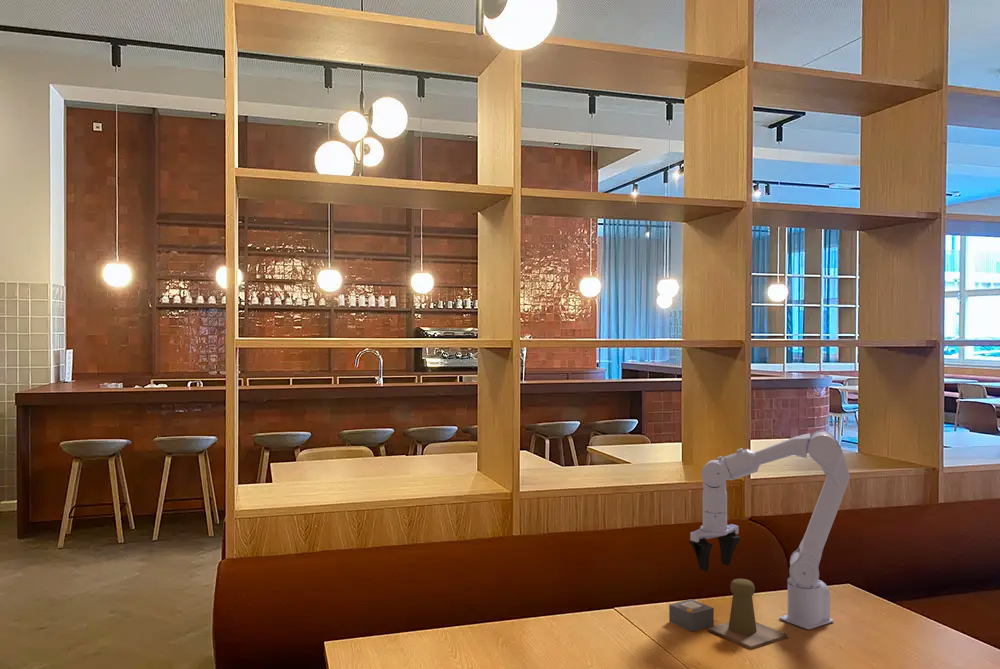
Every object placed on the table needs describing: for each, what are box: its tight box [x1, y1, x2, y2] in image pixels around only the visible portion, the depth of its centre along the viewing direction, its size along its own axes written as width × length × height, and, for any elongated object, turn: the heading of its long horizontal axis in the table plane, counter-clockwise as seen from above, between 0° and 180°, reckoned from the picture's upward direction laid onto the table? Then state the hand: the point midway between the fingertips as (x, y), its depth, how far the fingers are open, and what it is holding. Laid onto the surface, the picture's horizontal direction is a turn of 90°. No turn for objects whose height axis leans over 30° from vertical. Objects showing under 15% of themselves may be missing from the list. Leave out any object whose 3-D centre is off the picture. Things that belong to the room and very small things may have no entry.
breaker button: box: [681, 602, 702, 610], centre depth 177 cm, size 3×3×3 cm
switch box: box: [668, 598, 715, 632], centre depth 177 cm, size 7×7×4 cm
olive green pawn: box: [728, 578, 757, 635], centre depth 172 cm, size 6×6×11 cm
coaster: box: [707, 621, 789, 650], centre depth 171 cm, size 12×12×1 cm
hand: (714, 567), depth 185 cm, fingers open, 7 cm apart
